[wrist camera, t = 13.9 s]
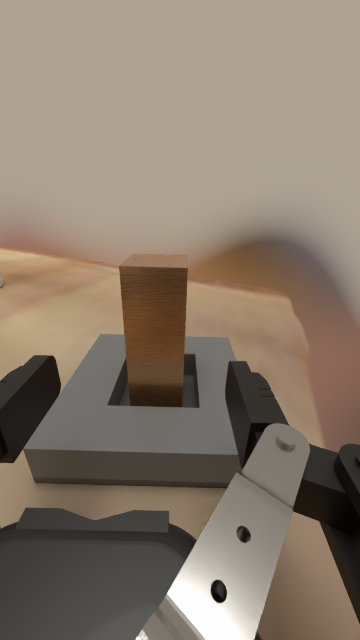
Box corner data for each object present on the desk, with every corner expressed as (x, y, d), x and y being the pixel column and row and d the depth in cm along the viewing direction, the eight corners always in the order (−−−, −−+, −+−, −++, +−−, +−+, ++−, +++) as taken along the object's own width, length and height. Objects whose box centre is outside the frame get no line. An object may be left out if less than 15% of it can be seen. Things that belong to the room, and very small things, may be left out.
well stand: (34, 482, 15) (23, 448, 14) (103, 357, 28) (100, 334, 26) (261, 488, 15) (269, 455, 14) (225, 360, 28) (227, 337, 26)
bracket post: (131, 418, 19) (119, 266, 14) (140, 381, 23) (133, 253, 18) (181, 420, 19) (187, 268, 14) (182, 383, 23) (186, 255, 18)
